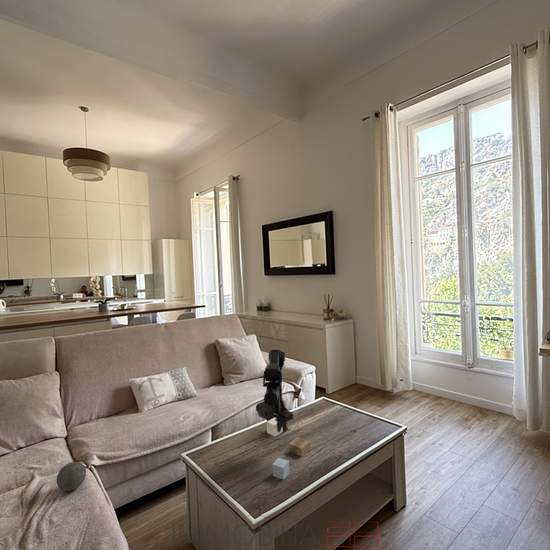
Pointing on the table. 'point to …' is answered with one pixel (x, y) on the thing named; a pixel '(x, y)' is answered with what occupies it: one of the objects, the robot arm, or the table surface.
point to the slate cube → (280, 468)
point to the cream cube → (273, 427)
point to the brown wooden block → (299, 446)
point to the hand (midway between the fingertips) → (274, 429)
